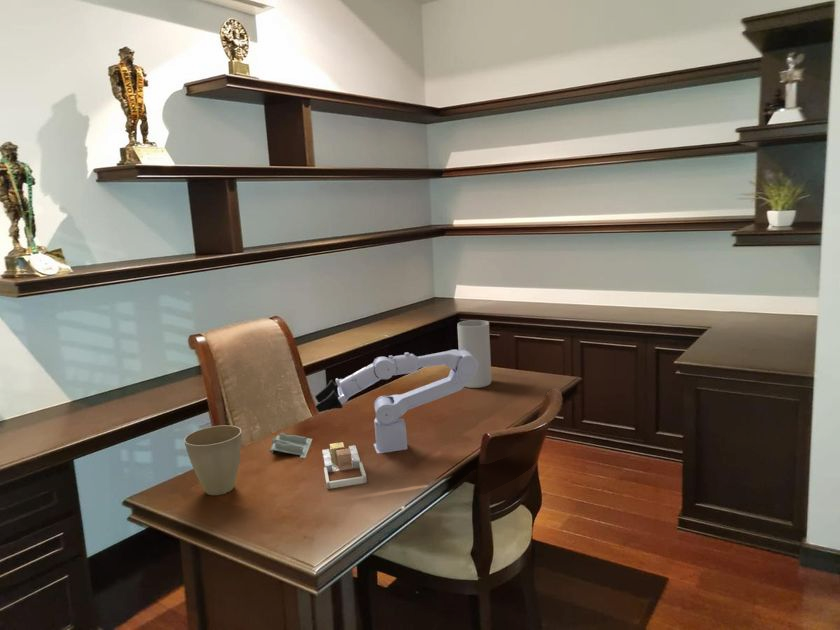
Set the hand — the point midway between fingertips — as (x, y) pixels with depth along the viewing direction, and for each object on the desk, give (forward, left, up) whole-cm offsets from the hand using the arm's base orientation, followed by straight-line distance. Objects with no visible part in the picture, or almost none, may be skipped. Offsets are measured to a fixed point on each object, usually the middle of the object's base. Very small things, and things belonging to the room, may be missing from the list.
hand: (317, 404), depth 187 cm
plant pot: (+29, +13, -17) cm, 36 cm away
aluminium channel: (-5, +8, -17) cm, 19 cm away
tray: (-5, +19, -17) cm, 26 cm away
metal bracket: (+8, -7, -17) cm, 21 cm away
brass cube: (-4, +5, -16) cm, 17 cm away
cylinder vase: (-65, -50, -17) cm, 84 cm away
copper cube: (-6, +10, -16) cm, 20 cm away
